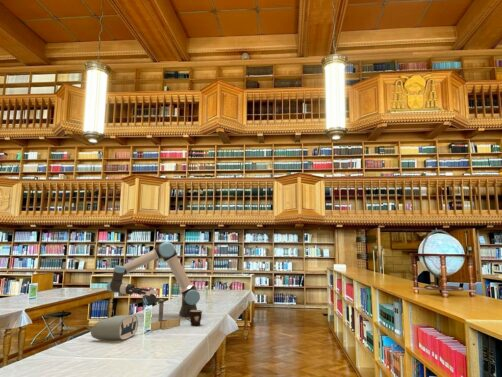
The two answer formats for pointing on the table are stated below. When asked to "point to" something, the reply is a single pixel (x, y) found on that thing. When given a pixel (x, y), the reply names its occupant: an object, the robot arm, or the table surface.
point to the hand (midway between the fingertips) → (154, 293)
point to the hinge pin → (161, 309)
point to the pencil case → (115, 328)
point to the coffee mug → (195, 317)
